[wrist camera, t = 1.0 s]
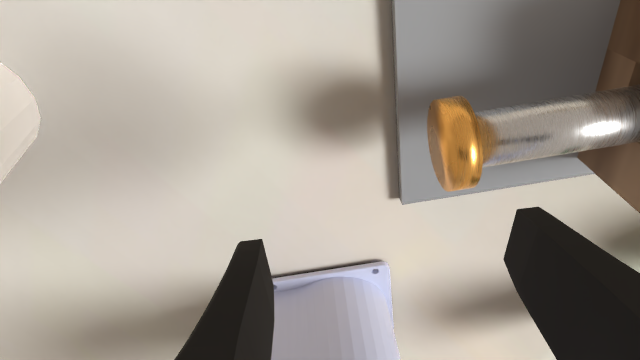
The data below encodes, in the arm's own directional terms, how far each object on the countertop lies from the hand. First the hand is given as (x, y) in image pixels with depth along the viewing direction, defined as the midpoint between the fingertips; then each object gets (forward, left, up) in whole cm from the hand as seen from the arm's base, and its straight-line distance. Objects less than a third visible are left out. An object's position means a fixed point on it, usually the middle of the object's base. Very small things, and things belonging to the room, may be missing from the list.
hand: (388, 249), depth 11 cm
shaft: (+9, -1, -8) cm, 12 cm away
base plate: (+11, -1, -11) cm, 15 cm away
